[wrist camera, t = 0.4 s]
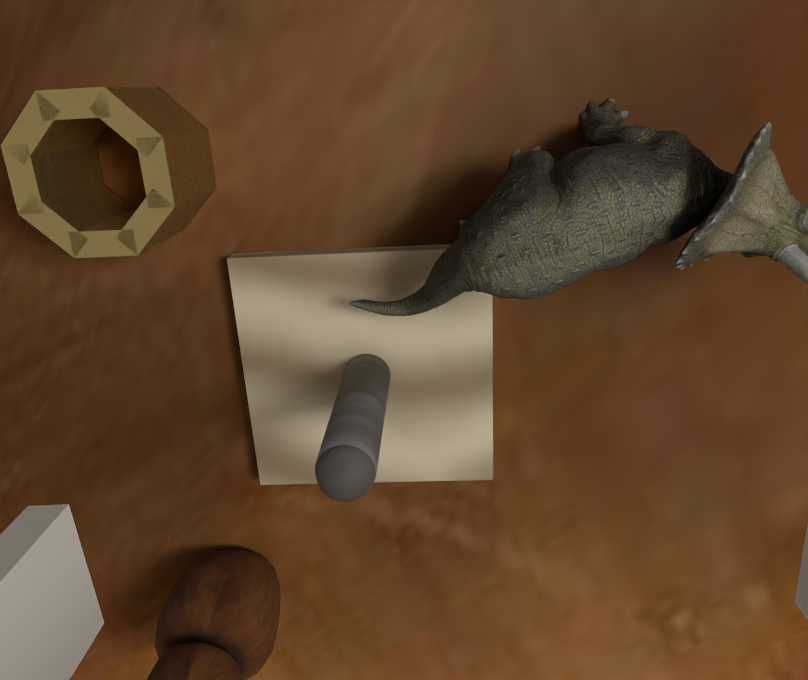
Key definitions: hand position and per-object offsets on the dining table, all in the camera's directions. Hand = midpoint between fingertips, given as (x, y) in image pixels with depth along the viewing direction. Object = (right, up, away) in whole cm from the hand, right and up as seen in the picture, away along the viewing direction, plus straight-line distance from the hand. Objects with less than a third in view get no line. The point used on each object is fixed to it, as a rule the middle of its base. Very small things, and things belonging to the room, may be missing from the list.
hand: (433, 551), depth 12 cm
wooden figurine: (-11, -11, +32) cm, 36 cm away
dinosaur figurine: (+7, +12, +23) cm, 27 cm away
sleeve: (-14, +13, +23) cm, 30 cm away
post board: (-3, +2, +26) cm, 27 cm away
